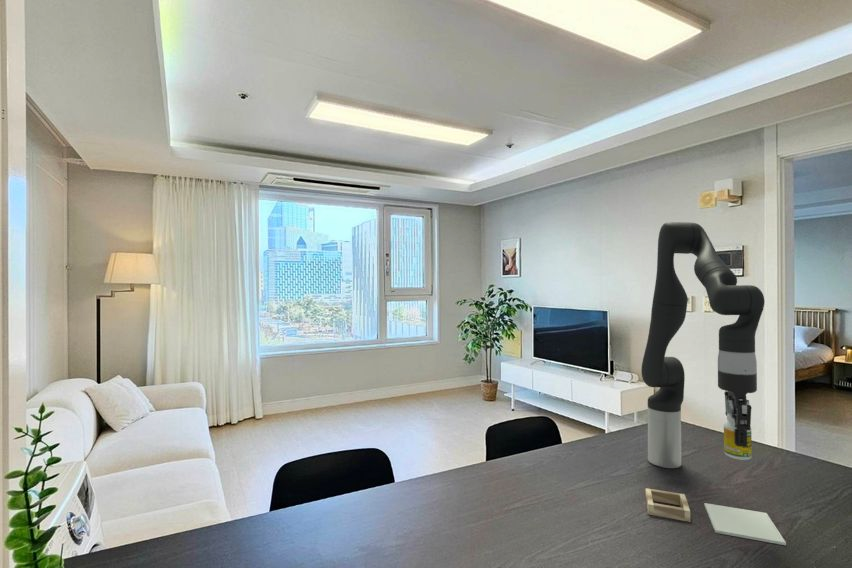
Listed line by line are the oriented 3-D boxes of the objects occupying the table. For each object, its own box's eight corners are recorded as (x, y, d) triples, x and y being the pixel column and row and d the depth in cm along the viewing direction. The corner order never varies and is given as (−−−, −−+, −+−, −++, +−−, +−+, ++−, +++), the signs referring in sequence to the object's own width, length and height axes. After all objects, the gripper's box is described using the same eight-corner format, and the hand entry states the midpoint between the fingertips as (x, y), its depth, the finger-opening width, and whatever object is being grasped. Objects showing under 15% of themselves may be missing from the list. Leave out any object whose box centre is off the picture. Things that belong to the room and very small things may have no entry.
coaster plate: (704, 505, 112) (704, 503, 112) (766, 515, 107) (766, 513, 107) (715, 532, 100) (715, 530, 100) (786, 545, 95) (786, 542, 95)
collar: (645, 497, 116) (645, 488, 116) (684, 503, 113) (684, 494, 113) (648, 514, 108) (648, 504, 108) (690, 521, 104) (690, 511, 104)
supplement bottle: (730, 449, 107) (729, 410, 107) (755, 457, 103) (755, 416, 103) (719, 454, 104) (719, 414, 104) (745, 462, 100) (745, 420, 100)
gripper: (765, 377, 95) (766, 454, 95) (747, 365, 108) (748, 433, 108) (724, 374, 98) (725, 450, 98) (712, 363, 111) (712, 429, 112)
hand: (737, 441), depth 103 cm, fingers closed on supplement bottle, 5 cm apart
